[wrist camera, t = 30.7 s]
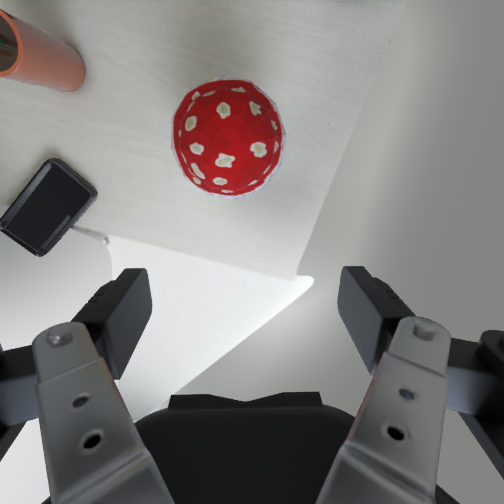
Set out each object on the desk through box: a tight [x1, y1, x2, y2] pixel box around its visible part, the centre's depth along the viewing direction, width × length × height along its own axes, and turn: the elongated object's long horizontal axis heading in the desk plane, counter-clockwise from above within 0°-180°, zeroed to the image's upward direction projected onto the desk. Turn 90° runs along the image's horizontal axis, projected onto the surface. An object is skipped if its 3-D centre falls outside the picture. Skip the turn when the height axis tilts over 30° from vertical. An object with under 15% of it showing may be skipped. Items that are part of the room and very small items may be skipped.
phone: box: [0, 158, 97, 257], centre depth 45 cm, size 8×1×15 cm
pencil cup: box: [0, 9, 85, 92], centre depth 31 cm, size 6×6×16 cm
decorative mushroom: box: [171, 75, 286, 199], centre depth 36 cm, size 14×14×15 cm
